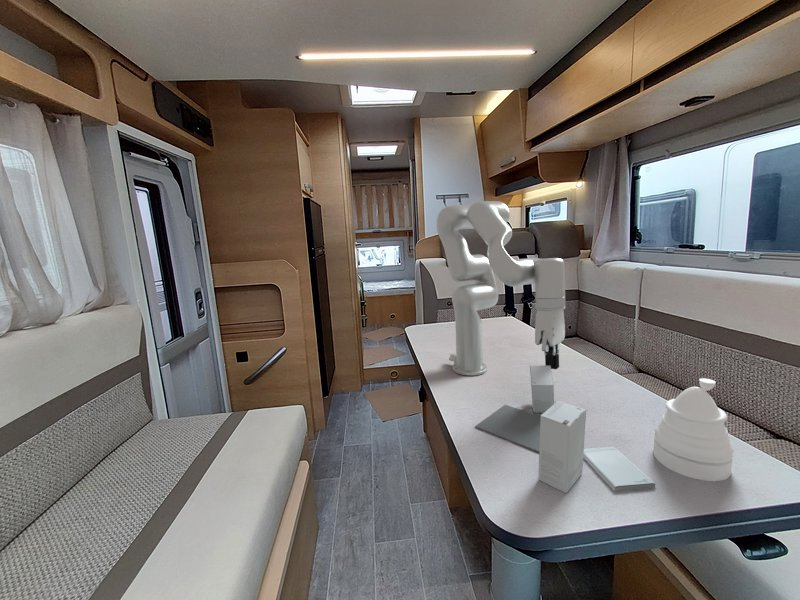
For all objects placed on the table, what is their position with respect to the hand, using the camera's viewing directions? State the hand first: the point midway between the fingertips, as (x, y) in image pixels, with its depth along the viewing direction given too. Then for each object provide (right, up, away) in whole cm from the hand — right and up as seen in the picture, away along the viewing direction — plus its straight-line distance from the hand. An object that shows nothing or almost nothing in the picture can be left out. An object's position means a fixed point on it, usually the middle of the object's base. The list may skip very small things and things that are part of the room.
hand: (552, 367), depth 101 cm
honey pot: (+19, -16, -24) cm, 35 cm away
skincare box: (-10, -18, -27) cm, 34 cm away
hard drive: (+2, -17, -25) cm, 31 cm away
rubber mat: (-11, -14, -9) cm, 20 cm away
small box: (-2, -10, +1) cm, 11 cm away
